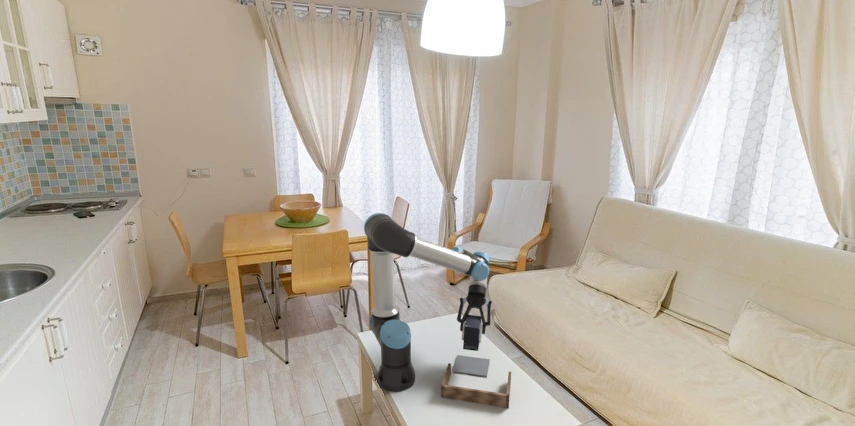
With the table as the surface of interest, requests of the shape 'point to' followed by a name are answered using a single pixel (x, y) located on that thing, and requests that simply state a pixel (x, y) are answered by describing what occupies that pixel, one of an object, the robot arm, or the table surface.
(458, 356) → the rubber mat
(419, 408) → the table surface
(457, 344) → the table surface
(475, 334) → the small box
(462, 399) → the walnut bay
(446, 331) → the table surface
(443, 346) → the table surface
